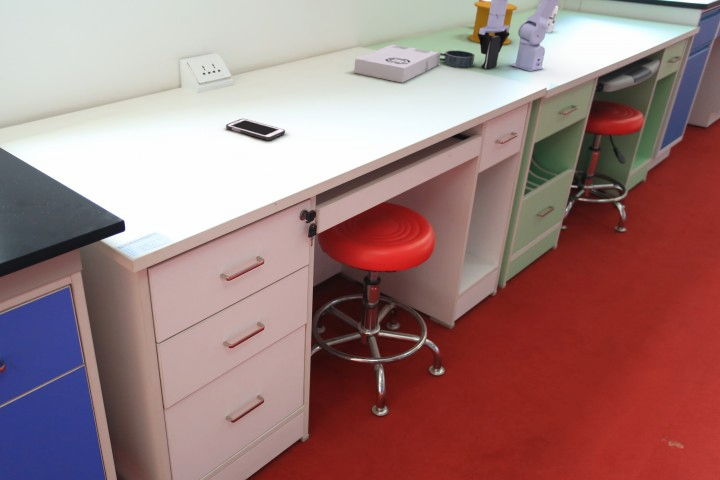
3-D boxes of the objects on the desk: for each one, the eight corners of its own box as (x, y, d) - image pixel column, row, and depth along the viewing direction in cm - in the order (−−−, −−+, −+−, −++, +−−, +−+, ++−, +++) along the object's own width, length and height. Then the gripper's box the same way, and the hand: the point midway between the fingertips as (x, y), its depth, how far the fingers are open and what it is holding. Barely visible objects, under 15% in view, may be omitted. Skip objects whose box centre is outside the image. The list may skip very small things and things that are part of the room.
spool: (513, 39, 302) (520, 4, 294) (505, 47, 288) (512, 10, 280) (474, 34, 308) (480, -1, 300) (464, 41, 294) (470, 4, 286)
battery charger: (488, 64, 259) (493, 33, 253) (496, 66, 256) (502, 35, 251) (478, 67, 254) (483, 36, 248) (486, 69, 252) (492, 38, 246)
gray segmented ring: (473, 62, 261) (475, 52, 259) (472, 69, 252) (474, 58, 250) (437, 58, 263) (439, 48, 261) (435, 65, 254) (436, 54, 252)
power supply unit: (439, 65, 254) (440, 51, 252) (402, 83, 229) (404, 68, 227) (393, 56, 262) (395, 43, 259) (353, 73, 237) (354, 58, 235)
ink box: (532, 30, 324) (537, 4, 318) (537, 28, 328) (542, 3, 322) (548, 33, 320) (554, 7, 314) (553, 32, 323) (559, 6, 317)
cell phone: (268, 141, 174) (268, 137, 173) (224, 128, 180) (224, 124, 180) (286, 133, 179) (286, 130, 179) (242, 121, 186) (242, 118, 185)
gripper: (492, 18, 239) (486, 57, 246) (518, 15, 247) (511, 53, 254) (477, 14, 244) (471, 52, 251) (503, 11, 252) (496, 48, 259)
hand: (490, 52), depth 253 cm, fingers closed on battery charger, 7 cm apart
